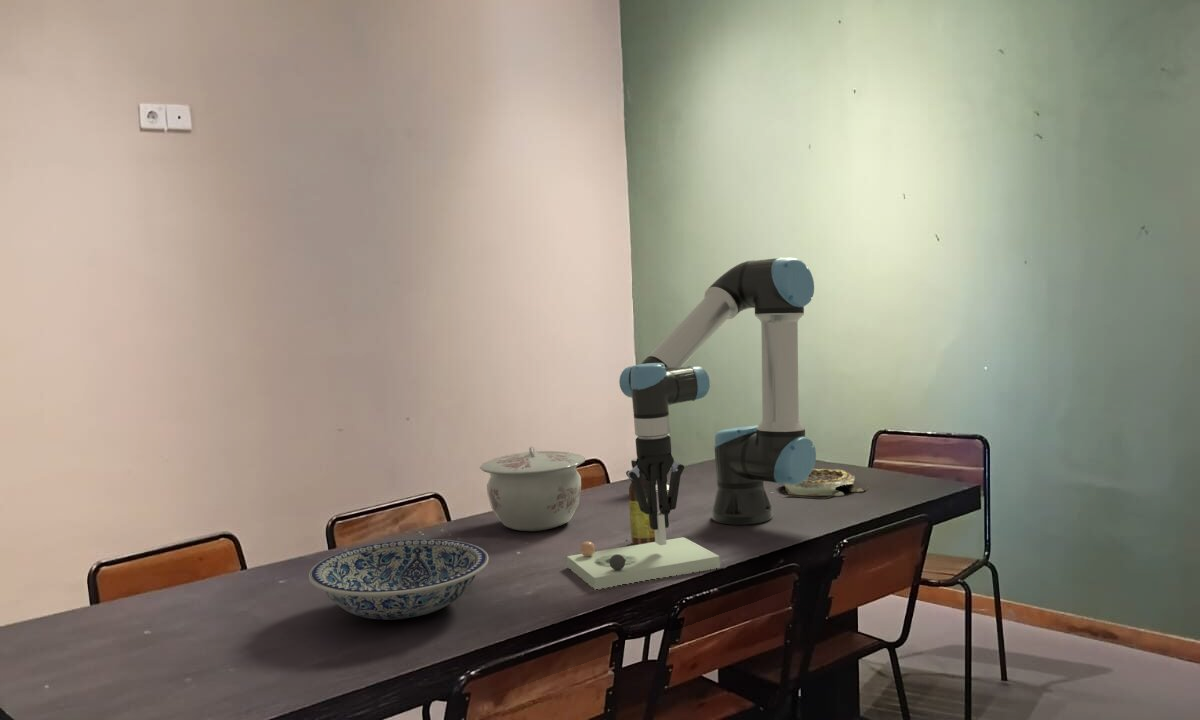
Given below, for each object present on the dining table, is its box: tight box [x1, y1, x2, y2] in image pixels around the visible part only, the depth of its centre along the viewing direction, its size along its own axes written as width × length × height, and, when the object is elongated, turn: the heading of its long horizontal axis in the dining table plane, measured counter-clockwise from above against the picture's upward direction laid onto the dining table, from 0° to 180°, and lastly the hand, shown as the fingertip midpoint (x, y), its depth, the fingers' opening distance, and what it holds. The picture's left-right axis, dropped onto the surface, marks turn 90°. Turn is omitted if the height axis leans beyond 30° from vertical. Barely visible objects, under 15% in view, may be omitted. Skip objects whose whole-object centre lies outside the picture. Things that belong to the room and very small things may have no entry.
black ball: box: [610, 554, 625, 570], centre depth 195 cm, size 3×3×3 cm
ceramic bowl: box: [308, 538, 489, 621], centre depth 186 cm, size 34×34×10 cm
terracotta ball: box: [580, 540, 596, 556], centre depth 207 cm, size 3×3×3 cm
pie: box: [770, 468, 868, 500], centre depth 270 cm, size 28×27×5 cm
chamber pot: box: [479, 446, 586, 532], centre depth 248 cm, size 28×28×21 cm
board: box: [566, 536, 721, 591], centre depth 204 cm, size 28×18×2 cm, turn 110°
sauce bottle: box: [628, 458, 655, 545], centre depth 223 cm, size 7×6×20 cm
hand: (660, 543), depth 206 cm, fingers closed
